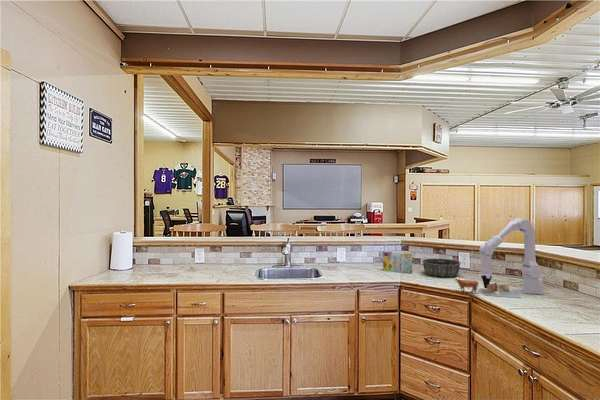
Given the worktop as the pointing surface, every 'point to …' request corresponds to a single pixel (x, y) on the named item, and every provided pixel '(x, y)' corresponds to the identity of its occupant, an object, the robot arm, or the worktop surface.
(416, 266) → the worktop surface
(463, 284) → the bull figurine
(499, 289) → the fence fixed
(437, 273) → the dark grey woven basket
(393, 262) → the snack box
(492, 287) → the fence hinged
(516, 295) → the card
